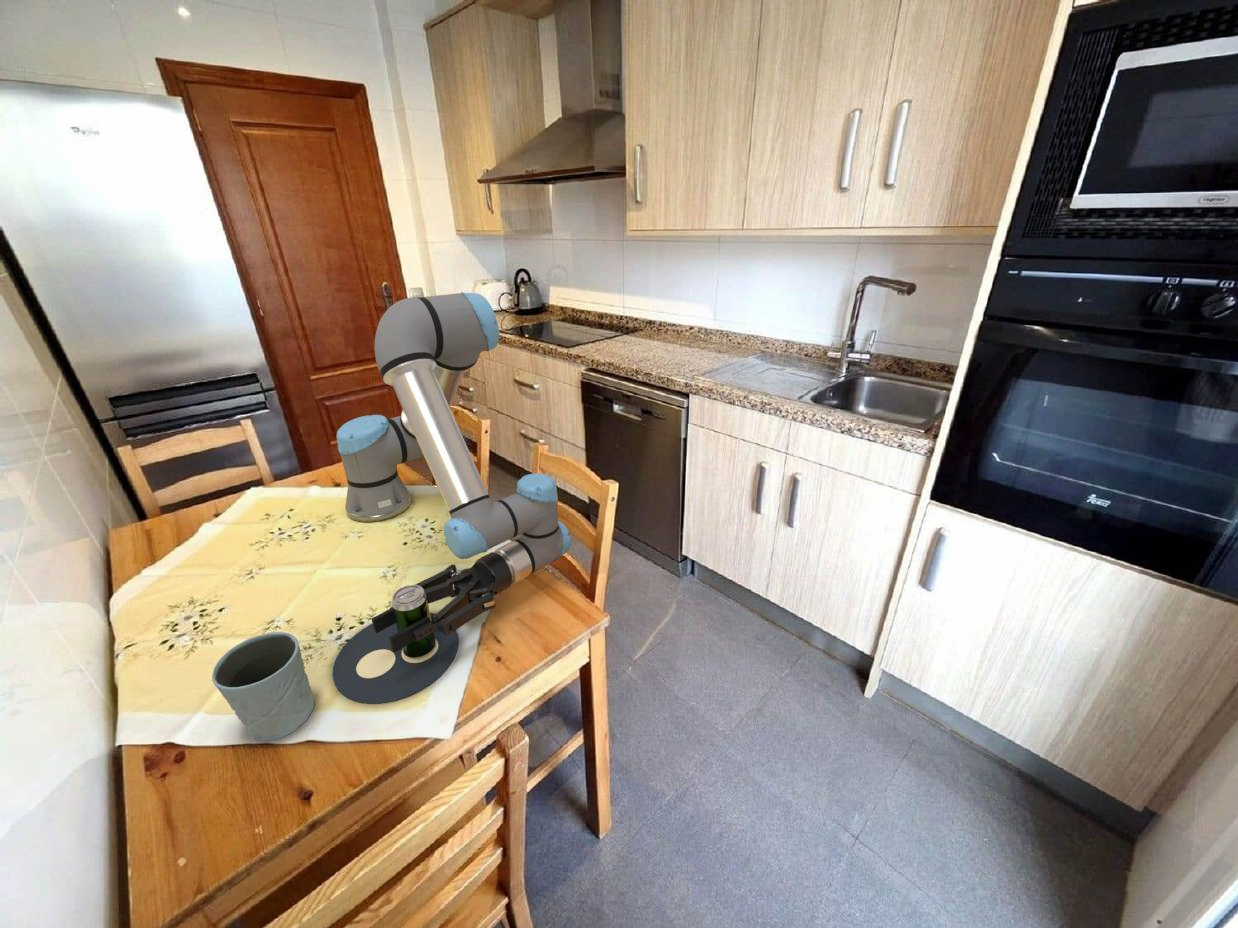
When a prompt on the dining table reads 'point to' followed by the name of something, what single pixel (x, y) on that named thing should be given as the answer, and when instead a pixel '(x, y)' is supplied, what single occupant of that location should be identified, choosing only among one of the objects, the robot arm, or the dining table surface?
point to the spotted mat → (388, 666)
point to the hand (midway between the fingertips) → (382, 635)
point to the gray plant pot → (266, 685)
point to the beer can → (412, 618)
